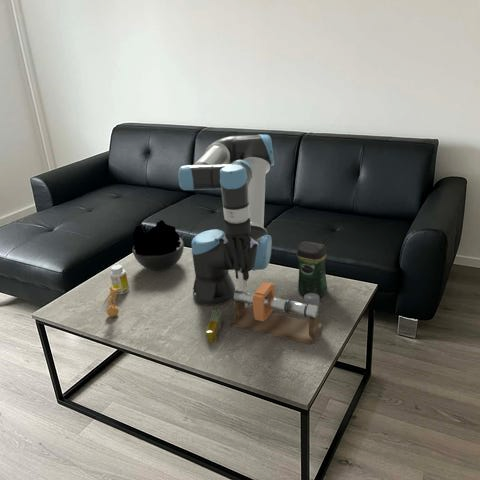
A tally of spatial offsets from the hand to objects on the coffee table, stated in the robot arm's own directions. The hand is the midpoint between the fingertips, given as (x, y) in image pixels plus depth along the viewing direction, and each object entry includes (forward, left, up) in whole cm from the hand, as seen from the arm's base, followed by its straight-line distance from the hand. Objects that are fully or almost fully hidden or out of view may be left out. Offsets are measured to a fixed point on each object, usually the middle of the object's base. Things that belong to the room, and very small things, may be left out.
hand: (243, 287), depth 150 cm
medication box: (-7, -9, -12) cm, 17 cm away
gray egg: (+18, +11, -12) cm, 25 cm away
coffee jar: (+14, +23, -12) cm, 30 cm away
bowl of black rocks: (-48, +20, -12) cm, 53 cm away
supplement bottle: (-52, 0, -12) cm, 53 cm away
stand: (+10, 0, -12) cm, 16 cm away
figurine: (-43, -14, -12) cm, 46 cm away
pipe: (+10, 0, -5) cm, 12 cm away
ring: (+7, 0, -8) cm, 11 cm away
